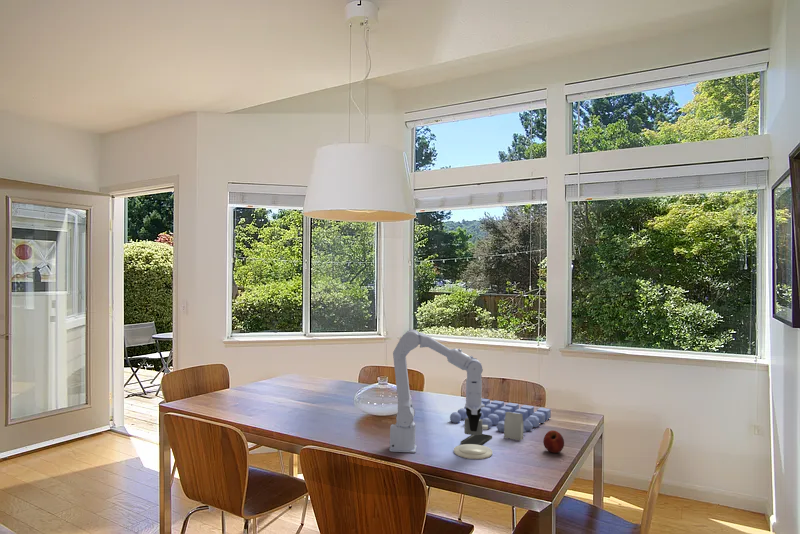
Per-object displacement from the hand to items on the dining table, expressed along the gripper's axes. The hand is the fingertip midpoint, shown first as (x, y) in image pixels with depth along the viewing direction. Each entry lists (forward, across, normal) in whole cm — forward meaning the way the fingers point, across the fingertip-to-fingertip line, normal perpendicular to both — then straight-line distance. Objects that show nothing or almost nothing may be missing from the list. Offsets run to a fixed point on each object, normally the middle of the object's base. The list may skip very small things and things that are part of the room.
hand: (473, 429), depth 189 cm
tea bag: (+9, +20, -17) cm, 28 cm away
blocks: (+9, +45, -14) cm, 48 cm away
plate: (+8, 0, 0) cm, 8 cm away
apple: (+9, +5, -30) cm, 32 cm away
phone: (+9, +14, -2) cm, 17 cm away
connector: (+1, 0, 0) cm, 1 cm away
